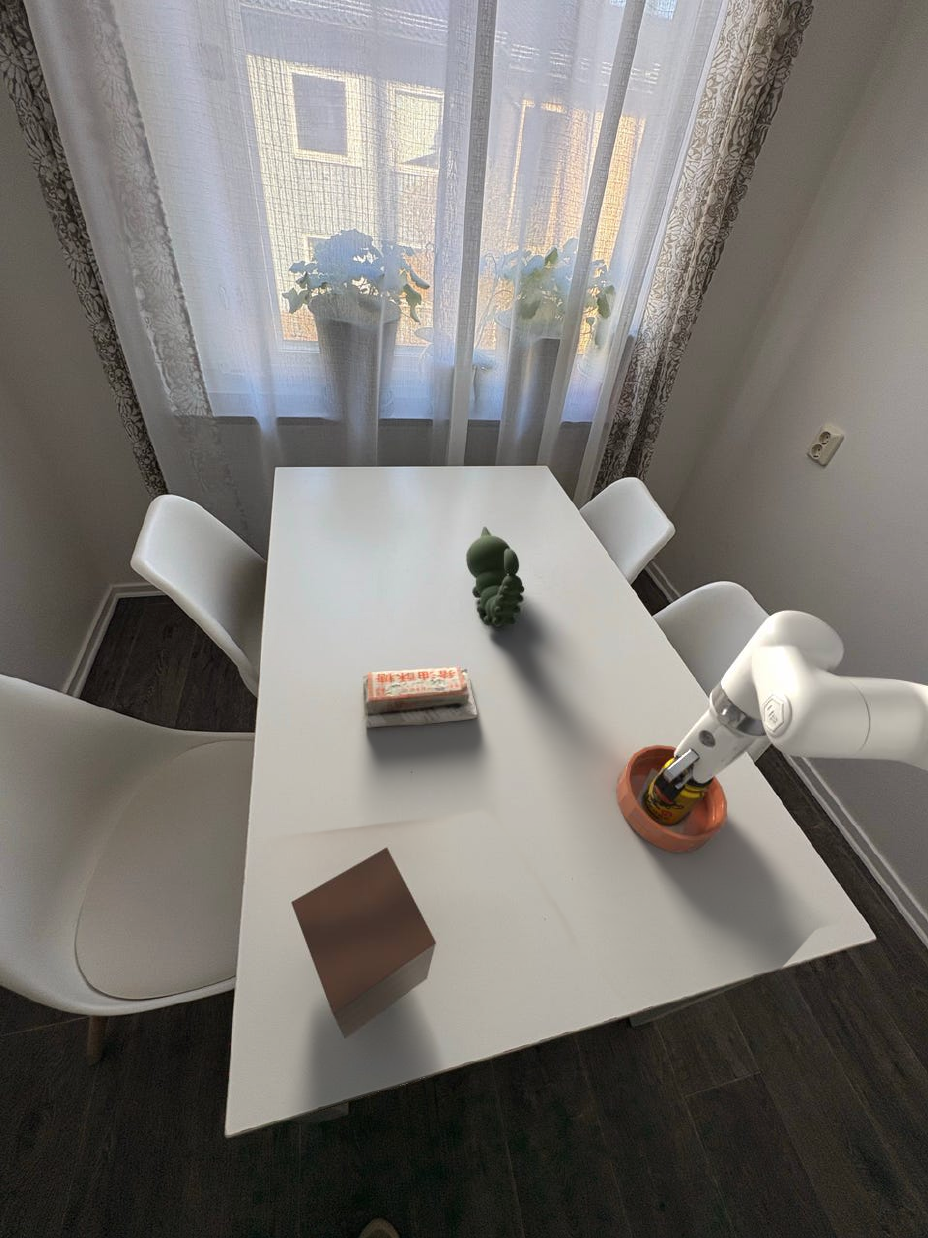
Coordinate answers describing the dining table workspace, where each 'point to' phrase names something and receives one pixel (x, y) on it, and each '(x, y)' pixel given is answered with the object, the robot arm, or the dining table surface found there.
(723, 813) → the dish
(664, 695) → the dining table surface
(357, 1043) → the dining table surface
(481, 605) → the toy figurine
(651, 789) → the condiment
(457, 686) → the packaged product
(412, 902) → the stand
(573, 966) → the dining table surface
